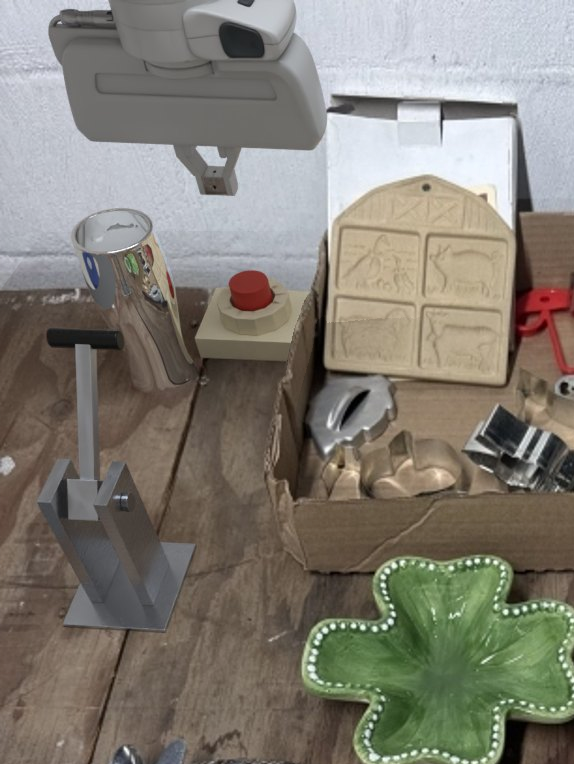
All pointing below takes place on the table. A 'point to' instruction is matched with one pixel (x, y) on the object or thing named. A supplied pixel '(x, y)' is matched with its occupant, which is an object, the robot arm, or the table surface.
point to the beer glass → (135, 296)
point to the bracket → (115, 555)
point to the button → (250, 290)
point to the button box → (250, 326)
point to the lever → (86, 412)
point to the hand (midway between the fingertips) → (219, 192)
